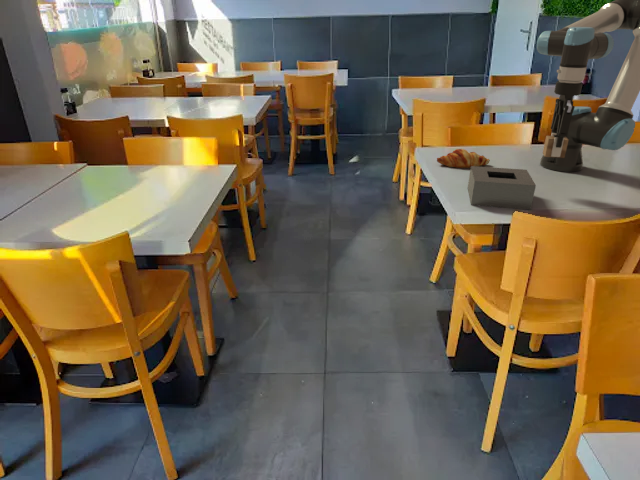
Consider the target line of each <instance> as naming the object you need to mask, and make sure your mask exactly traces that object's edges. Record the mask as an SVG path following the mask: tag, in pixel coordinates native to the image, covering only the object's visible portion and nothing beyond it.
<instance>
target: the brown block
mask: <svg viewBox="0 0 640 480" xmlns="http://www.w3.org/2000/svg"><path fill="white" fill-rule="evenodd" d="M554 138H555V137H554V136H551V135H546V136H545V140H544V143H543V145H544V146H543V149H542V156H543V155H544V156H545V157H551V153H552V148H553V143H554ZM567 145H568V139H567V138H566V137H565V138H564V142H563V146H562V151H561V155H560V157H557V158H564V157H565V153H566V149H567Z"/></svg>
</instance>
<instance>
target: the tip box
mask: <svg viewBox="0 0 640 480" xmlns="http://www.w3.org/2000/svg"><path fill="white" fill-rule="evenodd" d="M469 170H470V171H469V175H468V176H469V177H468V183H467V192H468V197H469V202H470V205H471V206H478V205H480V206H481V207H491V206H493V208H504V209H505V208H506V209H508V208H509V209H516V210H517V209H518V210H528V211H529V210H531V209H532V205H533V200H534V196H535V191H536V187H537V185H536V183H535V182H534V179H533V177H531V174H530V173H529V171H528V169H520V168H507V167H506V168H505V167H492V166H491V167H490V166H489V167H488V166H478V167H477V166H471V168H469Z"/></svg>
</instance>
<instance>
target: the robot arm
mask: <svg viewBox="0 0 640 480" xmlns="http://www.w3.org/2000/svg"><path fill="white" fill-rule="evenodd" d="M616 30H632V34H633V37H634V39H633V41H632V43H631V45H630V48H629V50H628V53H627V54H626V57H625V59H624V61H623V63H622V65H621V68H620V70H619V72H618V75H617V77H616V78H615V81H614V83H613V85H612V88H611V90H610V92H609V94H608V97H607V99H606V101H605V103H604V104H601V105H599V106H598V107H597V109H596V112H592V107H590V106H580V105H579V106H575V105H574V101H573V100H574V97H575V96H576V97H578V96H579V95H581V93H582V88H583V81H584V79H585V77H586V73H587V67H588V62H589V60H598V59H602V58H605V57H607V56H608V55H609V54H610V53H611V52H612V51H613V48H614V47H615V46H614V44H615V41H614V38H613V36H612V35H611V34H610V33H609V32H613V31H616ZM607 32H608V33H607ZM536 51H537V52H538V53H539V54H540V55H545V56H551V57H552V56H553V57H554V56H555V57H561V58H560V63H559V69H556V73H557V77H556V78H557V81H556V82H555V87H554V94H555V95H558V96H559V98H556V99H555V105H554V111H553V115H552V119H551V120H552V121H551V126H550V130H551V134H550V136H554V137H555V138H554V143H553V148H552V153H551V157H545V156H544V155H543V154H542V156H541V159H540V162H539V164H540V166H541V167H543V168H546V169H548V170H551V171H556V172H566V173H568V172H569V173H572V172H579V171H581V170H583V169H582V168H583V165H584V160H583V151H582V148H583V145H586V146H589V147H590V146H591V147H595V148H599V149H601V150H608V151H618V150H620V149H622V148H623V147H625V145H626V144H627V143H628V142H629V140H630V139H631V138H632V136H633V134H634V132H635V127H636V122H635V120H634V119H633V118H634V114H633V111H632V109H633V107H634V104H635V102H636V101H637V100H636V99H637V98H638V96H639V94H640V0H613V1H610V2H608V3H606V4H604V5H603V6H601V7H600V9H599V10H598V11H596V12H594V13H592V14H590V15H588V16H585V17H584V18H580V19H579V20H577V21H575V22H573V23H571V24H569V25H566V26H564V27H563V28H561V29H558V30H545V31H543V32H541V34H540V35H539V36H538V38H537V41H536ZM565 137H566V138H567V139H568V145H567V149H566V153H565V157H564V158H557V157H560V155H561V151H562V146H563V142H564V138H565Z"/></svg>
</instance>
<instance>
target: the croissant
mask: <svg viewBox="0 0 640 480" xmlns="http://www.w3.org/2000/svg"><path fill="white" fill-rule="evenodd" d="M436 162H437V163H439V164H440V165H442V166H443V165H444V166H446V167H449V168H459V169H462V168H463V169H465V168H466V169H471V166H477V167H482V166H485V165H488V164H489V163H490V162H491V160H490V159H489V158H487V157H486V156H484V155H480V154H478V153H477V152H475V151H468V150H466V149H464V148H456V149H455V150H453V151H452V152H449V153H447V154H446V155H442V156H439V157H437V158H436Z"/></svg>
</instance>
